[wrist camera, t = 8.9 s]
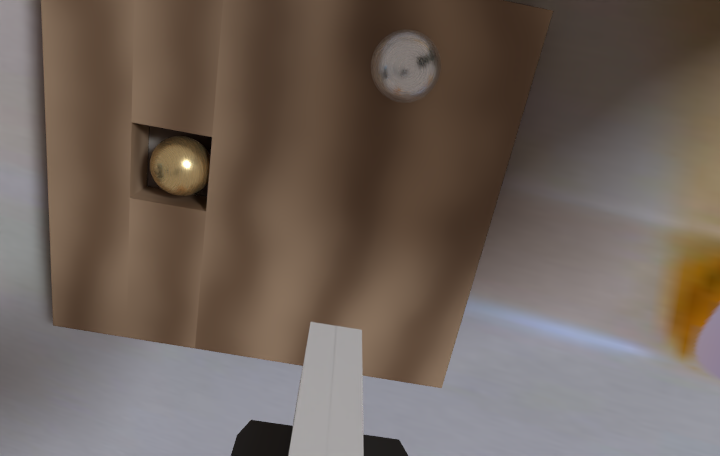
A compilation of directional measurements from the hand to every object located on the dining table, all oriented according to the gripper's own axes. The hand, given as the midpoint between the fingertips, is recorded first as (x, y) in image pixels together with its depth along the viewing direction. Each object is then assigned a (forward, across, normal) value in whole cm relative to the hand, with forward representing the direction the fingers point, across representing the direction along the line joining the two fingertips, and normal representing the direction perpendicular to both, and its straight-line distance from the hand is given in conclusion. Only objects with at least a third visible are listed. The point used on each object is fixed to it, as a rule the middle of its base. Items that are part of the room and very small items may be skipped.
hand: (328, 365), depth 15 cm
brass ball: (+17, -10, 0) cm, 19 cm away
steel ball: (+14, +2, +8) cm, 16 cm away
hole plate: (+18, -4, 0) cm, 19 cm away
